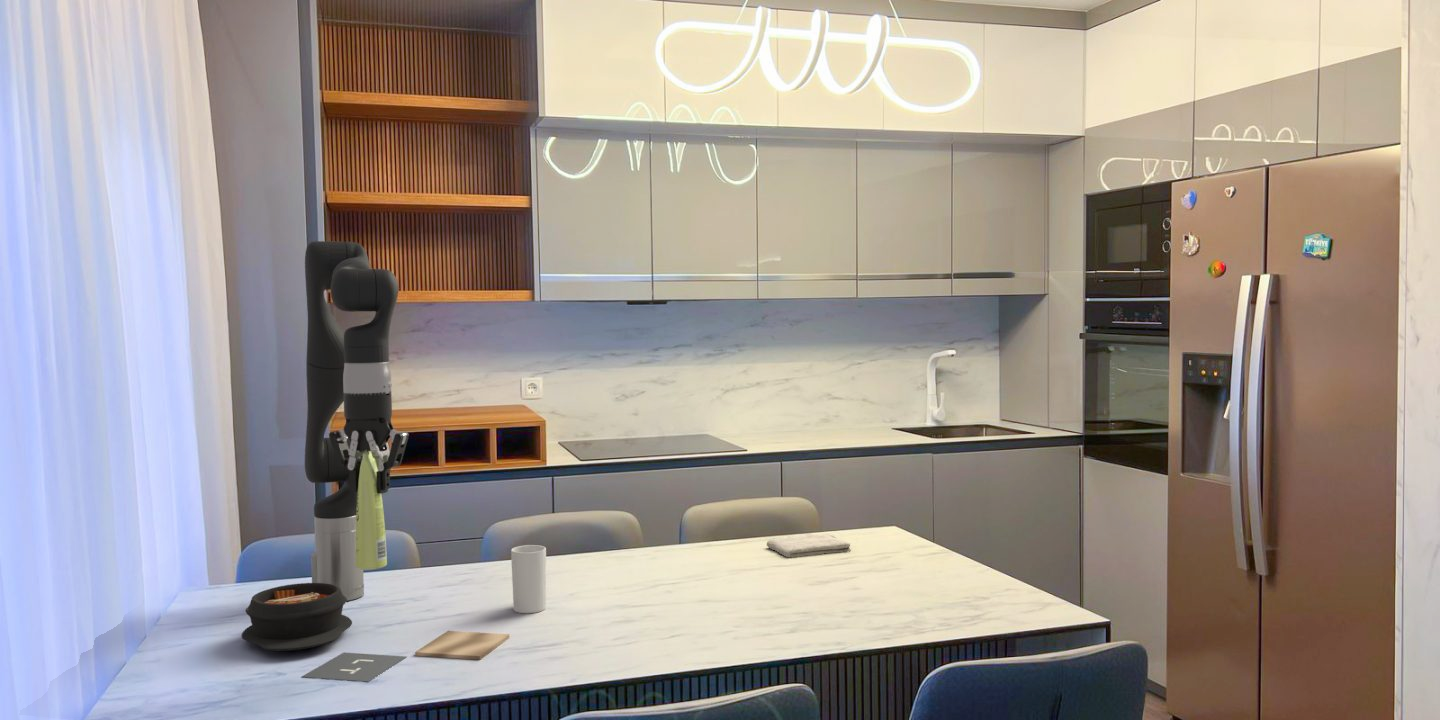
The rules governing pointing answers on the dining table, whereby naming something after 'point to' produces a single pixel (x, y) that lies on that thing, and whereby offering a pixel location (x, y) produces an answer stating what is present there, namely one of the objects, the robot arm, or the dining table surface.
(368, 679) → the label
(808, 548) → the washcloth
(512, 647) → the dining table surface
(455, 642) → the cork pad
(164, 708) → the dining table surface
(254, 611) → the casserole
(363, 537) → the tube
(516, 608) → the mug
